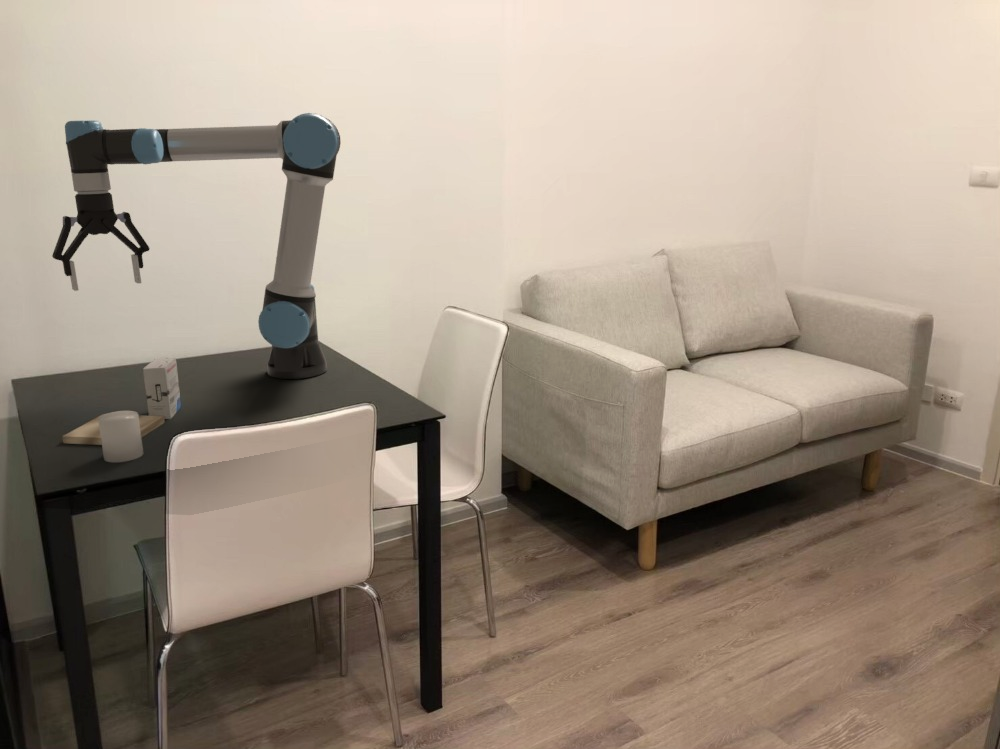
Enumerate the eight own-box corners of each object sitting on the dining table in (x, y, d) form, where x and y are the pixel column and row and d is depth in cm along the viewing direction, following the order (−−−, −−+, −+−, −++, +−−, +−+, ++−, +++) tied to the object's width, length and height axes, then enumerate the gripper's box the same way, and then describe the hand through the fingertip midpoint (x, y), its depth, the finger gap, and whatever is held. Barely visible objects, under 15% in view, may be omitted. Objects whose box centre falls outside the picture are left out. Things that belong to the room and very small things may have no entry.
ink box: (160, 408, 189) (153, 357, 186) (182, 407, 190) (176, 357, 186) (148, 420, 181) (141, 368, 178) (171, 419, 181) (165, 367, 178)
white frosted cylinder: (150, 449, 164) (145, 411, 162) (130, 463, 157) (125, 423, 155) (117, 448, 165) (111, 410, 162) (96, 461, 158) (90, 421, 156)
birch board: (164, 422, 179) (163, 416, 179) (128, 445, 166) (127, 438, 165) (104, 420, 181) (103, 414, 181) (63, 443, 168) (62, 436, 167)
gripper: (146, 188, 197) (158, 277, 203) (27, 195, 182) (44, 290, 188) (155, 189, 191) (167, 281, 197) (34, 196, 177) (51, 295, 183)
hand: (107, 286), depth 193 cm, fingers open, 13 cm apart
